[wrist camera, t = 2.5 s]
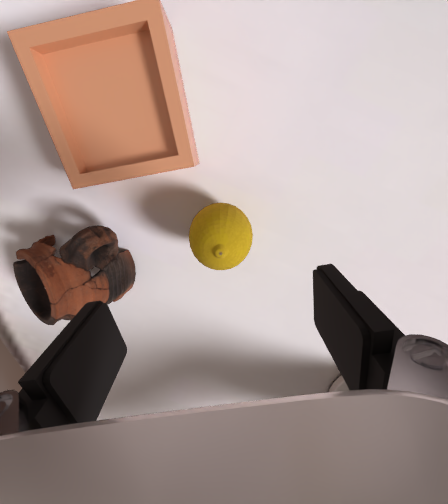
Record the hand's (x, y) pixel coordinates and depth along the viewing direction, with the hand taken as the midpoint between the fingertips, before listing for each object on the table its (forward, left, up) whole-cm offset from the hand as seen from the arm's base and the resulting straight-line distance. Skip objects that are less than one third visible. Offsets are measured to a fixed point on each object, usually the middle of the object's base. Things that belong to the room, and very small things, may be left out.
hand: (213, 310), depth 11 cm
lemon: (0, 0, -15) cm, 15 cm away
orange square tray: (+6, -11, -15) cm, 19 cm away
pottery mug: (+14, +2, -15) cm, 21 cm away
